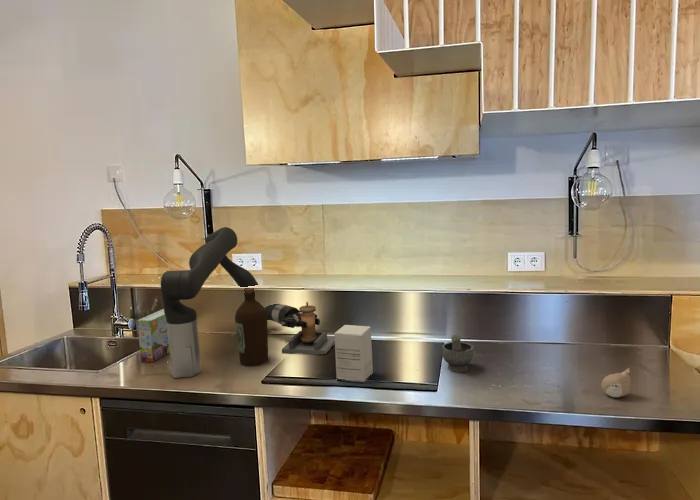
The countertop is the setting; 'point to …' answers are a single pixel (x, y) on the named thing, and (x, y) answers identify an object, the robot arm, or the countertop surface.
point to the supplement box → (353, 352)
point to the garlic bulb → (617, 384)
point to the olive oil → (251, 330)
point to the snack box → (153, 336)
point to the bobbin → (308, 323)
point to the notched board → (309, 344)
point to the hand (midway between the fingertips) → (312, 323)
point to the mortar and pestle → (457, 354)
